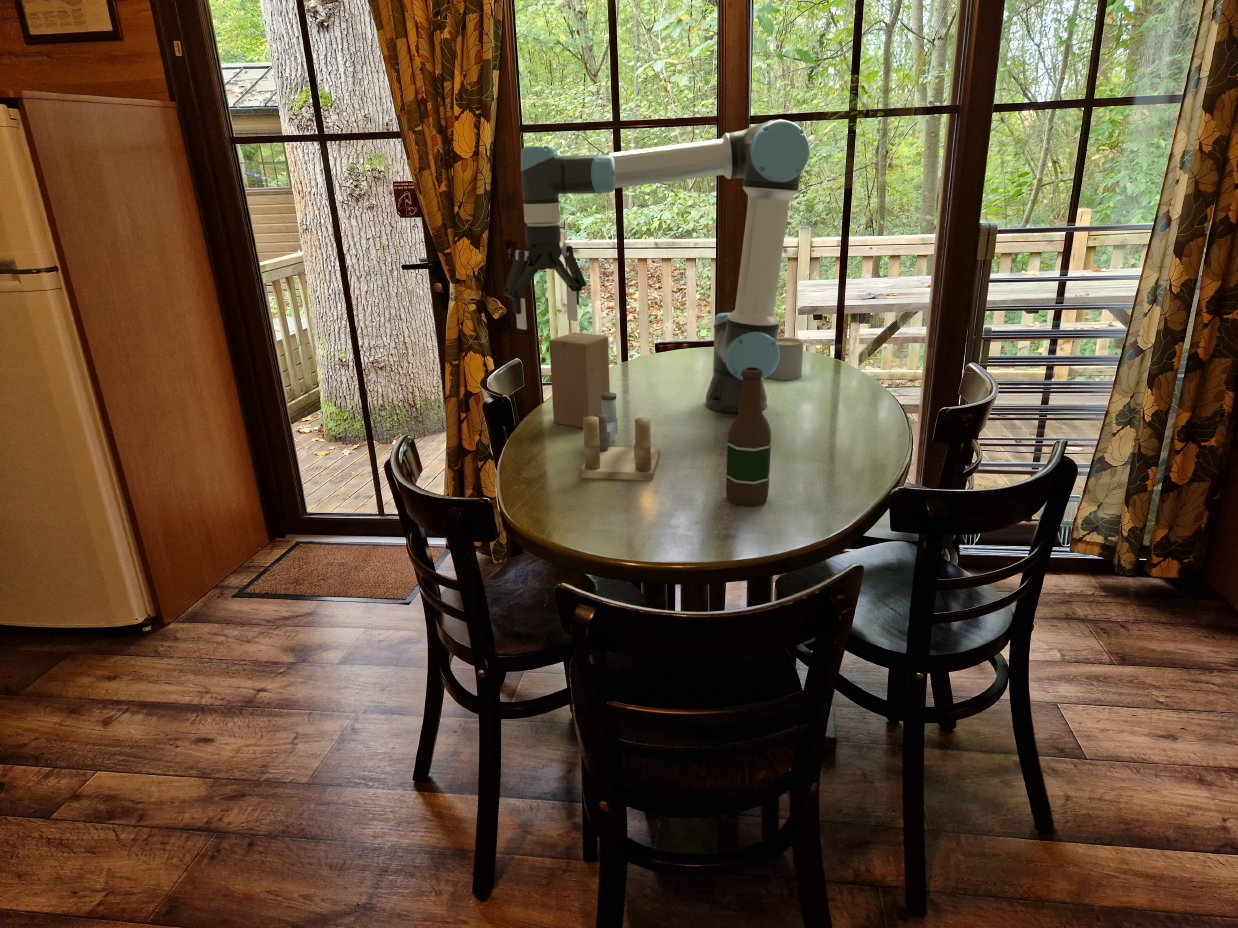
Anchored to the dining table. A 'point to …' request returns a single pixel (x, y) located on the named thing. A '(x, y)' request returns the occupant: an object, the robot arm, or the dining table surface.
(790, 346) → the coffee mug
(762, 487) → the beer bottle
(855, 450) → the dining table surface
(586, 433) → the wooden twin post stand
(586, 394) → the wooden block
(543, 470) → the dining table surface
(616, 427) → the hinged leg
